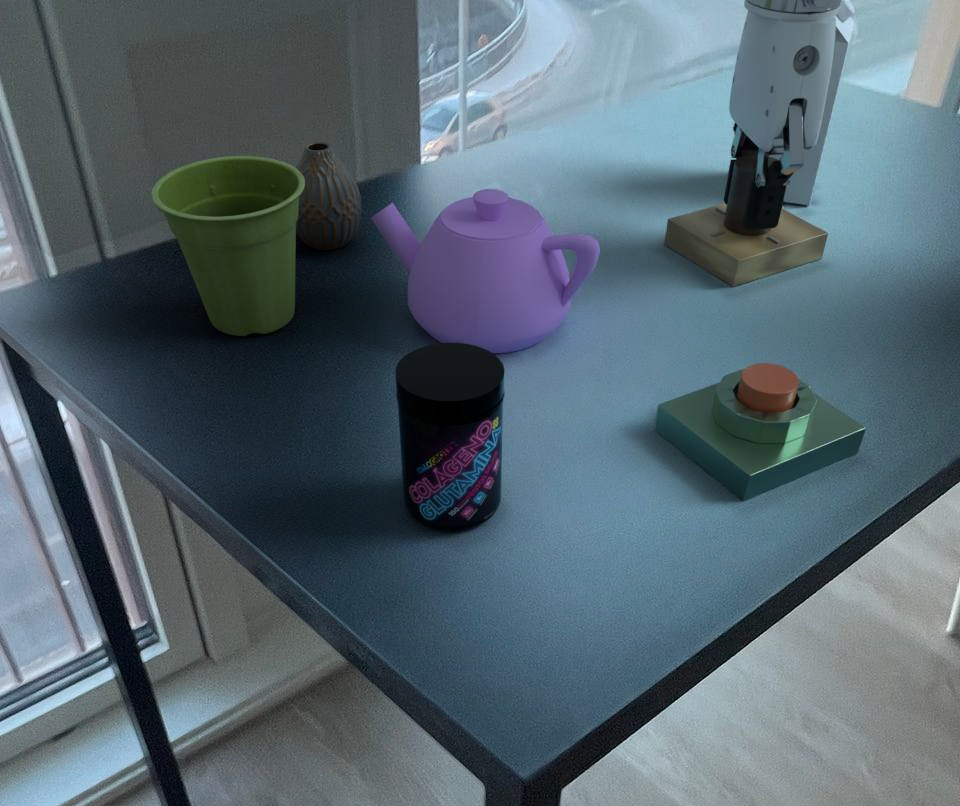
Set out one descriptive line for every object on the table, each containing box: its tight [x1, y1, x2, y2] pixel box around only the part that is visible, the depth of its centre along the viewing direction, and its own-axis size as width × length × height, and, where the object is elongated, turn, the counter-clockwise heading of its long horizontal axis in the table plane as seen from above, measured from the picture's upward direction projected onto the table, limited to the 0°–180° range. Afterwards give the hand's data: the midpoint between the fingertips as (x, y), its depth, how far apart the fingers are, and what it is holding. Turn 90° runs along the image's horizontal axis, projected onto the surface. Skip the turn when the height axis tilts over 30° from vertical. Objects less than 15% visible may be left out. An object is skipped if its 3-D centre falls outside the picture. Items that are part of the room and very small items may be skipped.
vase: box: [294, 140, 362, 251], centre depth 94 cm, size 7×7×9 cm
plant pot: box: [150, 155, 305, 337], centre depth 83 cm, size 12×12×11 cm
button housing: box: [654, 368, 867, 502], centre depth 73 cm, size 11×10×4 cm
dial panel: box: [663, 202, 829, 288], centre depth 95 cm, size 11×10×3 cm
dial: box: [724, 155, 778, 235], centre depth 92 cm, size 4×4×6 cm
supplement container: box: [394, 342, 506, 533], centre depth 65 cm, size 7×7×10 cm
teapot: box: [370, 188, 601, 354], centre depth 83 cm, size 14×20×11 cm
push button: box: [737, 362, 800, 413], centre depth 71 cm, size 4×4×2 cm
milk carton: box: [769, 0, 856, 206], centre depth 99 cm, size 7×7×19 cm
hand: (750, 213), depth 93 cm, fingers closed on dial, 4 cm apart
